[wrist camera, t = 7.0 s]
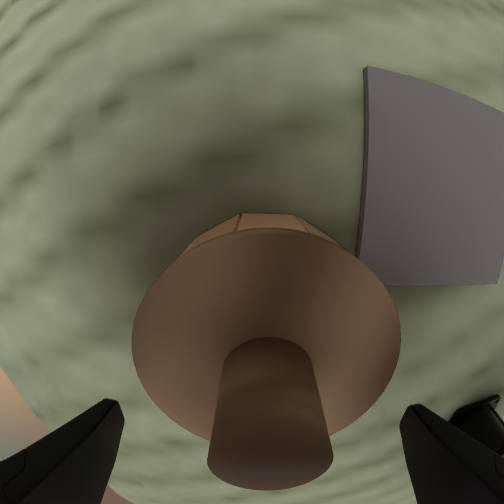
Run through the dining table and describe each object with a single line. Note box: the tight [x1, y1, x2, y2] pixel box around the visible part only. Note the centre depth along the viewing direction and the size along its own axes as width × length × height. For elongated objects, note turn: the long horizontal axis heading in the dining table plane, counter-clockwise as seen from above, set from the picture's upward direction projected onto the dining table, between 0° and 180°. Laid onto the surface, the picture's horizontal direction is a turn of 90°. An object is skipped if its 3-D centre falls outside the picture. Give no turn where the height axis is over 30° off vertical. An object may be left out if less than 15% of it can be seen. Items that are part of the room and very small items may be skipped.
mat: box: [356, 66, 504, 286], centre depth 13 cm, size 11×11×1 cm
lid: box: [132, 227, 401, 490], centre depth 8 cm, size 10×10×5 cm
